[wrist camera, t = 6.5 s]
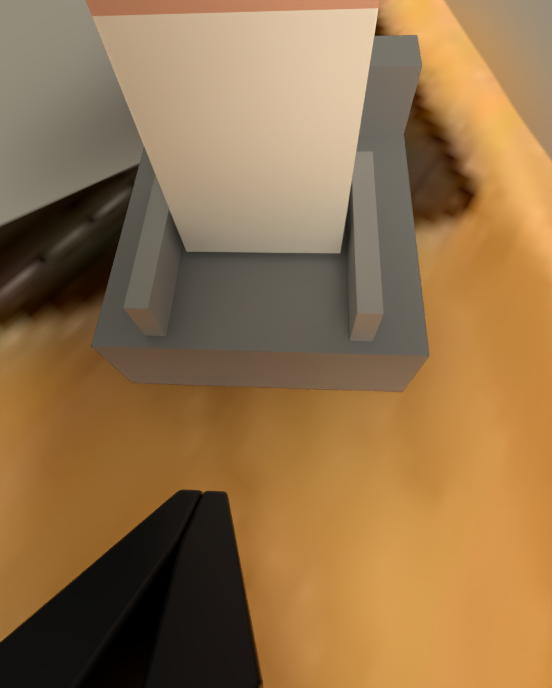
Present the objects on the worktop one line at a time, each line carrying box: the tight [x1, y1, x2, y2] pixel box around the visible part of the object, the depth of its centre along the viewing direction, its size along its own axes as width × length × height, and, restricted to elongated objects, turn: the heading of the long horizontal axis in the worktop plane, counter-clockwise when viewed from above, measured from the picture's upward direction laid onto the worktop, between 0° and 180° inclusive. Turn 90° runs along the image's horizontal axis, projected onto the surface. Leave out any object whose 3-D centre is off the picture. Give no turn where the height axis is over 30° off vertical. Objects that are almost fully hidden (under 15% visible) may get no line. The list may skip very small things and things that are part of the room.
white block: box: [86, 0, 380, 253], centre depth 13 cm, size 5×6×9 cm
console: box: [91, 35, 429, 392], centre depth 18 cm, size 14×12×7 cm
